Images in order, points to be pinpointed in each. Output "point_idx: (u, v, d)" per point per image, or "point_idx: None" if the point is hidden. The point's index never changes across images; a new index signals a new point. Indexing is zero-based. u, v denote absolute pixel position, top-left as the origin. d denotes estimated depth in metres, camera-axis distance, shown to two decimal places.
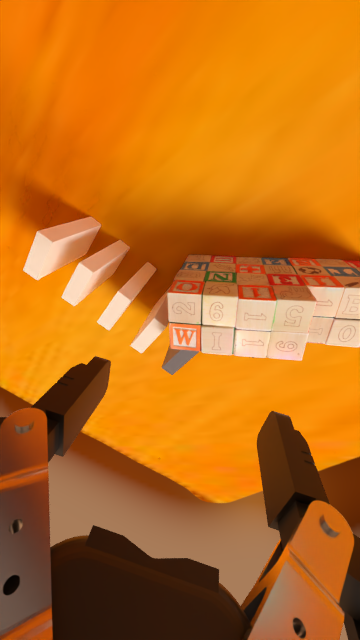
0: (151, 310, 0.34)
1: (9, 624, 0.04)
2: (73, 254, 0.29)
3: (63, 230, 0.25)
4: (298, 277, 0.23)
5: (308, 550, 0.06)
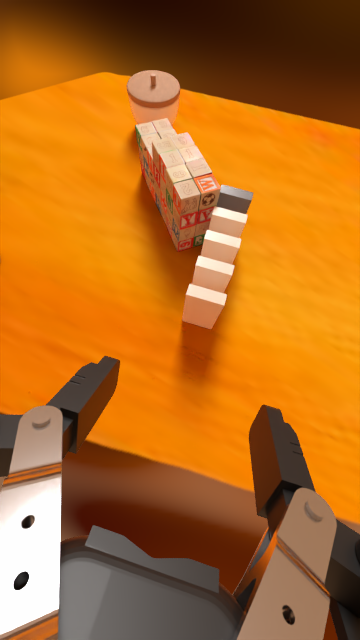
0: None
1: (17, 620, 0.04)
2: None
3: None
4: (154, 172, 0.41)
5: (294, 537, 0.06)
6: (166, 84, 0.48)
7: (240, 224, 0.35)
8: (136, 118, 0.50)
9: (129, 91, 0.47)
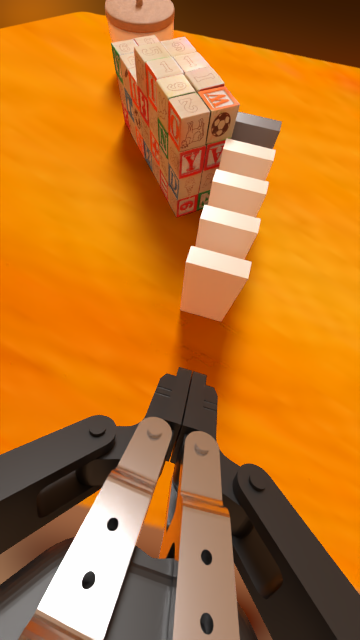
0: None
1: (72, 619, 0.04)
2: None
3: None
4: (139, 105, 0.29)
5: (194, 481, 0.07)
6: (157, 3, 0.37)
7: (265, 164, 0.23)
8: None
9: (107, 11, 0.36)
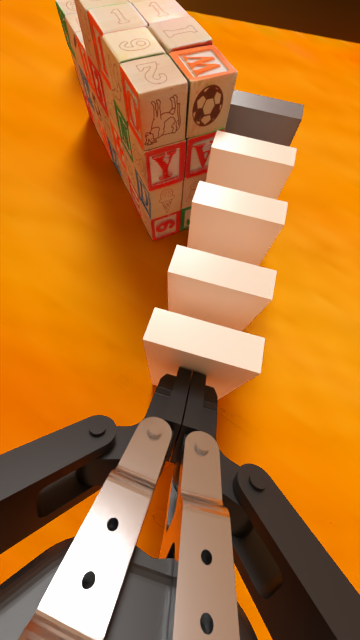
0: None
1: (72, 619, 0.04)
2: None
3: None
4: (95, 86, 0.21)
5: (194, 481, 0.07)
6: None
7: (279, 171, 0.14)
8: None
9: None
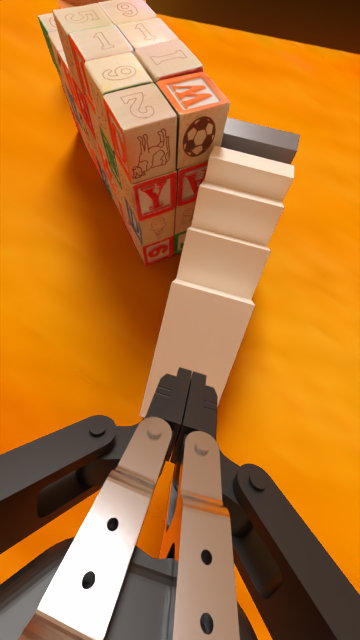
0: None
1: (72, 619, 0.04)
2: None
3: None
4: (81, 107, 0.20)
5: (194, 481, 0.07)
6: None
7: (279, 184, 0.14)
8: None
9: None
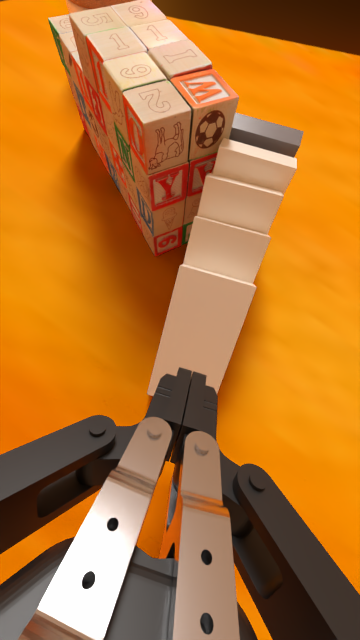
0: None
1: (72, 619, 0.04)
2: None
3: None
4: (92, 105, 0.21)
5: (194, 481, 0.07)
6: None
7: (283, 174, 0.15)
8: None
9: None
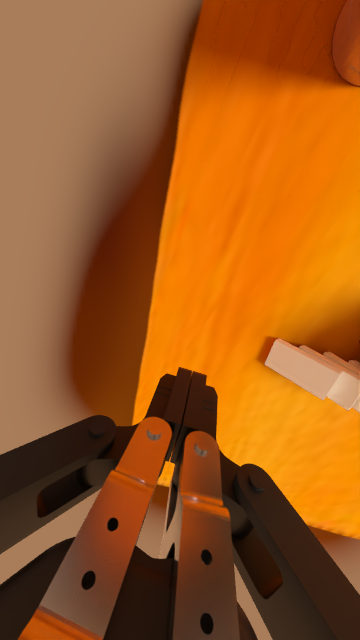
0: None
1: (72, 619, 0.04)
2: None
3: (320, 361, 0.36)
4: None
5: (194, 481, 0.07)
6: None
7: None
8: None
9: None
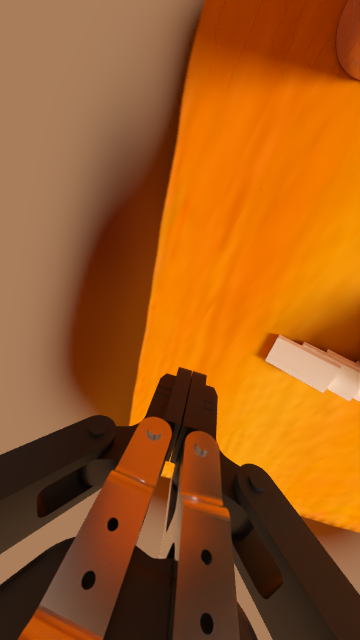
0: None
1: (72, 619, 0.04)
2: None
3: (321, 357, 0.38)
4: None
5: (194, 481, 0.07)
6: None
7: None
8: None
9: None
